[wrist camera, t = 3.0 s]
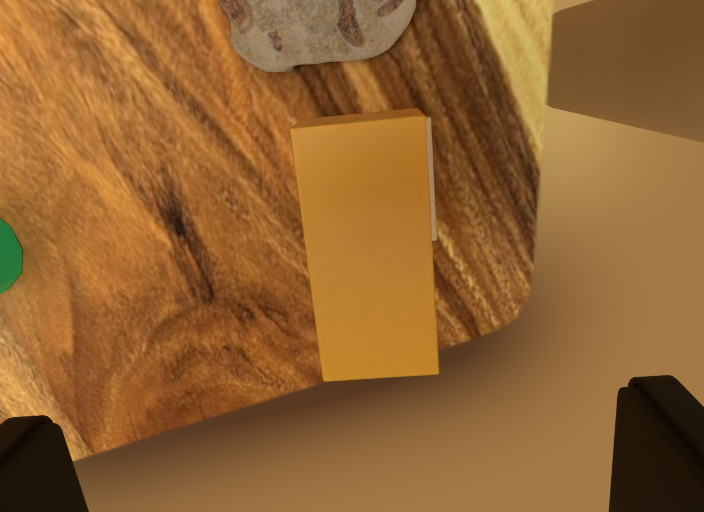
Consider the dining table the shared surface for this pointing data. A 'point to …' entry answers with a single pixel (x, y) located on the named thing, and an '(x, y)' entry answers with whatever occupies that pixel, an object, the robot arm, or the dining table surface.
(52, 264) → the dining table surface
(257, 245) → the dining table surface
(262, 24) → the stone
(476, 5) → the dining table surface
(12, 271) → the candle
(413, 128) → the bar
